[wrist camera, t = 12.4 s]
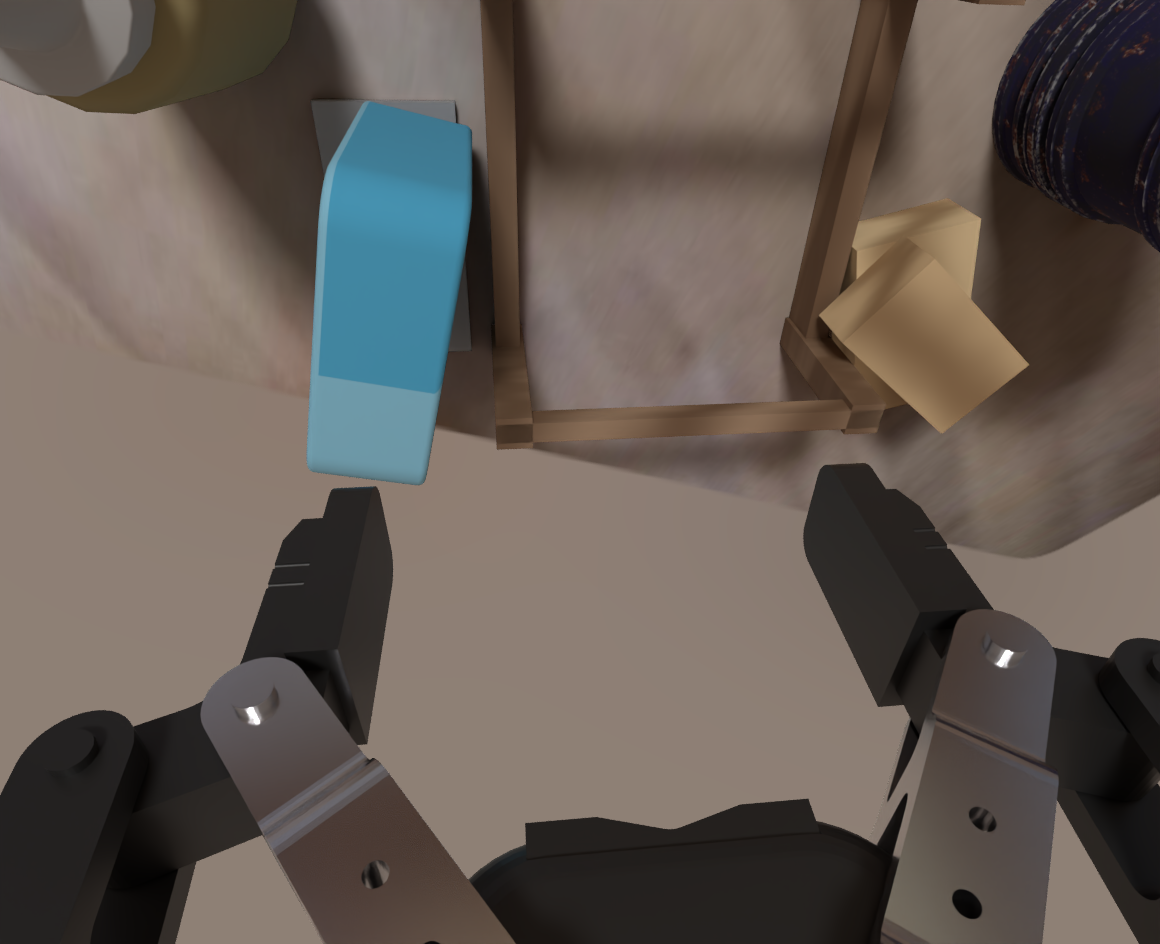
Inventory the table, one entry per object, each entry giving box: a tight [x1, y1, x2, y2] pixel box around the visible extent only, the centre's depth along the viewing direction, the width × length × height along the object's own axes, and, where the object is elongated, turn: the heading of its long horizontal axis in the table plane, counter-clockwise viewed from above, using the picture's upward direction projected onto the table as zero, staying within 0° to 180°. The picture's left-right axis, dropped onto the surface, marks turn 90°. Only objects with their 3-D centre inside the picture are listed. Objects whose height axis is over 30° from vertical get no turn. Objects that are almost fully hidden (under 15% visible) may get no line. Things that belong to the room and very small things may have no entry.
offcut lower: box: [832, 198, 981, 410], centre depth 39 cm, size 6×10×4 cm, turn 13°
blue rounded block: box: [307, 101, 472, 485], centre depth 30 cm, size 12×4×12 cm, turn 165°
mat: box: [311, 99, 472, 352], centre depth 35 cm, size 6×12×1 cm, turn 178°
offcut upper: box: [819, 235, 1029, 434], centre depth 36 cm, size 5×9×3 cm, turn 50°
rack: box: [480, 0, 1026, 449], centre depth 31 cm, size 18×19×9 cm
